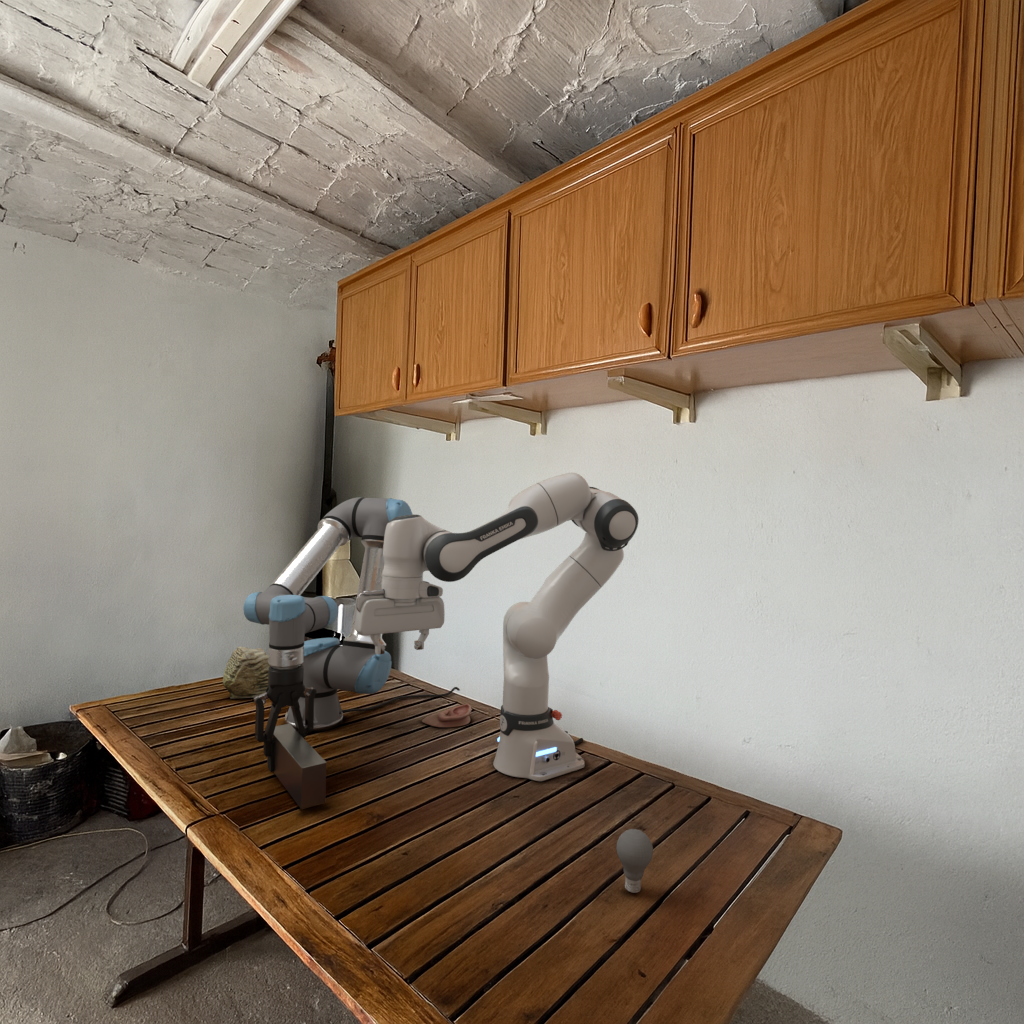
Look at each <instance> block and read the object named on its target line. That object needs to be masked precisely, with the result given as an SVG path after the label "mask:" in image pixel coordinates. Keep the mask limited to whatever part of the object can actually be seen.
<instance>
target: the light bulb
mask: <svg viewBox="0 0 1024 1024" xmlns="http://www.w3.org/2000/svg"><path fill="white" fill-rule="evenodd" d="M615 849H616V854H617V857H618V859H619V861H620V863H621V865H622V867H623V873H624V874H623V875H624V876H625V878H624V888H625V890H627V891H628V892H630V893H634V894H635V893H639V892H640V891H641V889H642V887H641V886H642V879H643V877H644V875H645V871H646V868H647V867H648V866H649V864H650V863H651V861H652V859H653V855H654V847H653V843H652V841H651V838H649V836H648V835H647V834H646V833H645V832H643V831H642V830H641V829H636V828H629V829H627V830H625V831H623V832H622V833H621V834H620V835H619V837H618V839H617V841H616V847H615Z"/></svg>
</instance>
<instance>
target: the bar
mask: <svg viewBox="0 0 1024 1024" xmlns="http://www.w3.org/2000/svg"><path fill="white" fill-rule="evenodd" d="M272 739H273V741H274V742H275V769H274V771H273V773H274V775H275V776H276V778H277V779H278V780H279V782H280V783H281V785H282V786H283V787H284V788H285V790H286V791H287V792H288V794H289V795H290V797H291V798H292V799H293V801H294V802H295V803H296V805H297V806H298V807H299V808H300V810H305V809H308V808H311V807H316V806H319V805H322V804H323V805H324V804H326V802H327V801H326V799H327V797H326V795H327V794H326V793H327V761H326V760H325V759H324V758H323V757H322V756H321V755H320V754H319V753H318V752H317V751H316V750H315V749H314V747H313V746H312V745H311V744H310V743H309V742H308V741H307V740H306V738H305V739H304V738H303V737H302V736H301V735H300V734H299V733H298V732H297V731H296V730H295V729H294V728H293V727H292V726H291V724H286V723H285V724H280V725H276V727H275V730H274V734H273V738H272ZM266 764H267V765H268V757H266Z"/></svg>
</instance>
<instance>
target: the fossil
mask: <svg viewBox="0 0 1024 1024" xmlns="http://www.w3.org/2000/svg"><path fill="white" fill-rule="evenodd" d="M268 661H269V654H267V653H266V652H265V650H264V649H263V648H260V647H258V648H251V647H247V646H246V647H245V646H238V647H237V648H236V649H235V650H233V651H232V653H231V656H230V657H229V659H228V660H227V663H226V666H225V668H224V671H223V675H222V676H223V677H222V685H223V687H224V688H225V690H226V691H228V693H229V698H230V699H250V698H253V697H254V696H255V695H258V696H259V695H261V694H263V693H265V692H266V689H267V687H268V668H269V667H270V665H269V663H268Z"/></svg>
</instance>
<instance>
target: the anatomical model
mask: <svg viewBox="0 0 1024 1024" xmlns="http://www.w3.org/2000/svg"><path fill="white" fill-rule="evenodd" d="M471 713H472V706H471V705H470V704H469V703H464V704H460V705H456V706H453V707H450V708H448V709H445V710H442V711H439V712H435V713H432V714H429V715H428V716H425V717H424V718H423V719H421V722H422V723H424V724H426V725H429V726H431V727H436V728H455V727H461V726H465V725H468V724H469V723H470V722H471V716H470V715H471Z"/></svg>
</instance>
